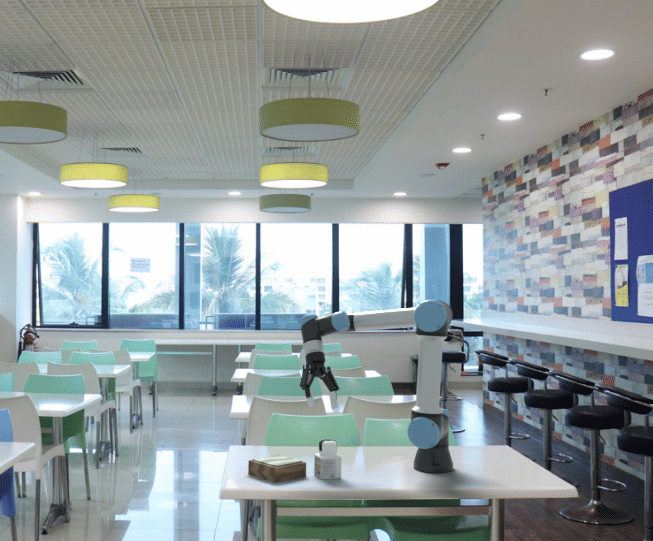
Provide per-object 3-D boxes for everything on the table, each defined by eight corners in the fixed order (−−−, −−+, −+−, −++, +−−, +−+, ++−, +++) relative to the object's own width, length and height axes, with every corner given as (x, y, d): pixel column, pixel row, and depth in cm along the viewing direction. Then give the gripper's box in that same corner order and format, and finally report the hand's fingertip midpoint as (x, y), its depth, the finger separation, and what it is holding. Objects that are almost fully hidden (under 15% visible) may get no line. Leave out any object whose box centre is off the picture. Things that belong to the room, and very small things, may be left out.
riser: (306, 476, 248) (306, 461, 248) (276, 482, 238) (276, 466, 239) (278, 468, 259) (278, 453, 260) (248, 474, 250) (248, 459, 250)
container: (313, 474, 251) (314, 438, 251) (333, 473, 253) (334, 437, 254) (321, 479, 243) (321, 442, 244) (341, 478, 246) (341, 441, 247)
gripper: (328, 360, 277) (337, 411, 269) (285, 352, 259) (293, 408, 251) (342, 354, 273) (351, 406, 265) (299, 346, 255) (308, 402, 247)
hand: (323, 407), depth 258 cm, fingers open, 13 cm apart
